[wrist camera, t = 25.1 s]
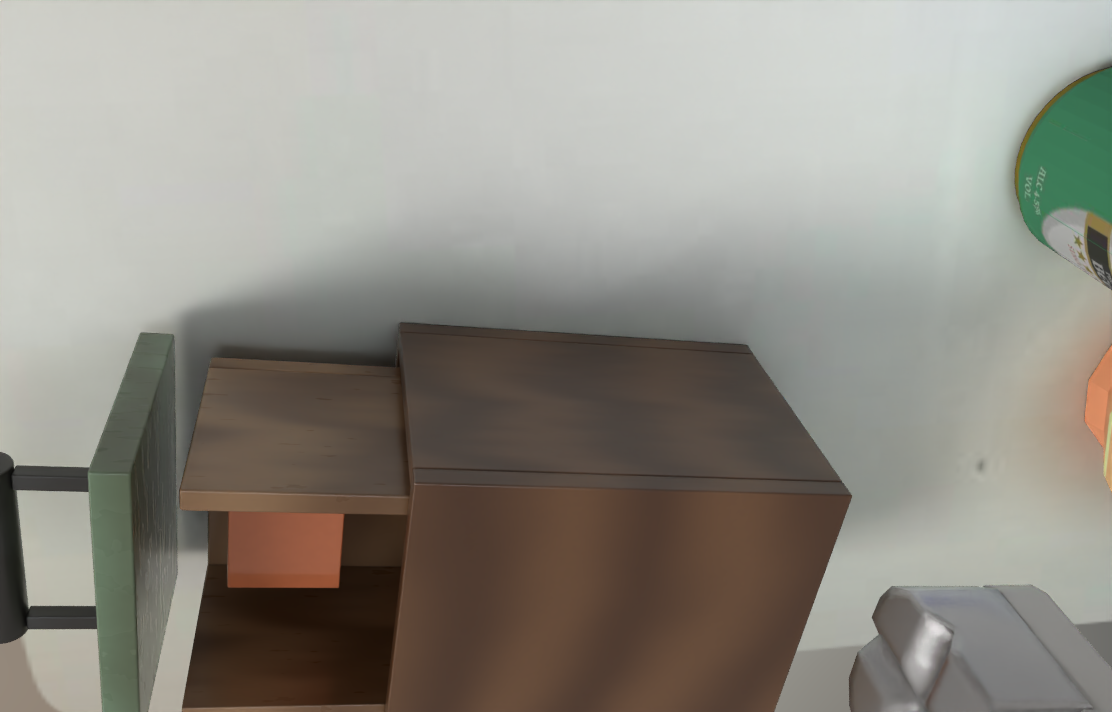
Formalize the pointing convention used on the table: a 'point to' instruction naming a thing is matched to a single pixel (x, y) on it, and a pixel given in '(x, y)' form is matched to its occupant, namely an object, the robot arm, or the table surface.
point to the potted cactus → (1101, 410)
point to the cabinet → (602, 525)
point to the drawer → (218, 487)
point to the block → (284, 550)
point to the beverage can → (1071, 175)
